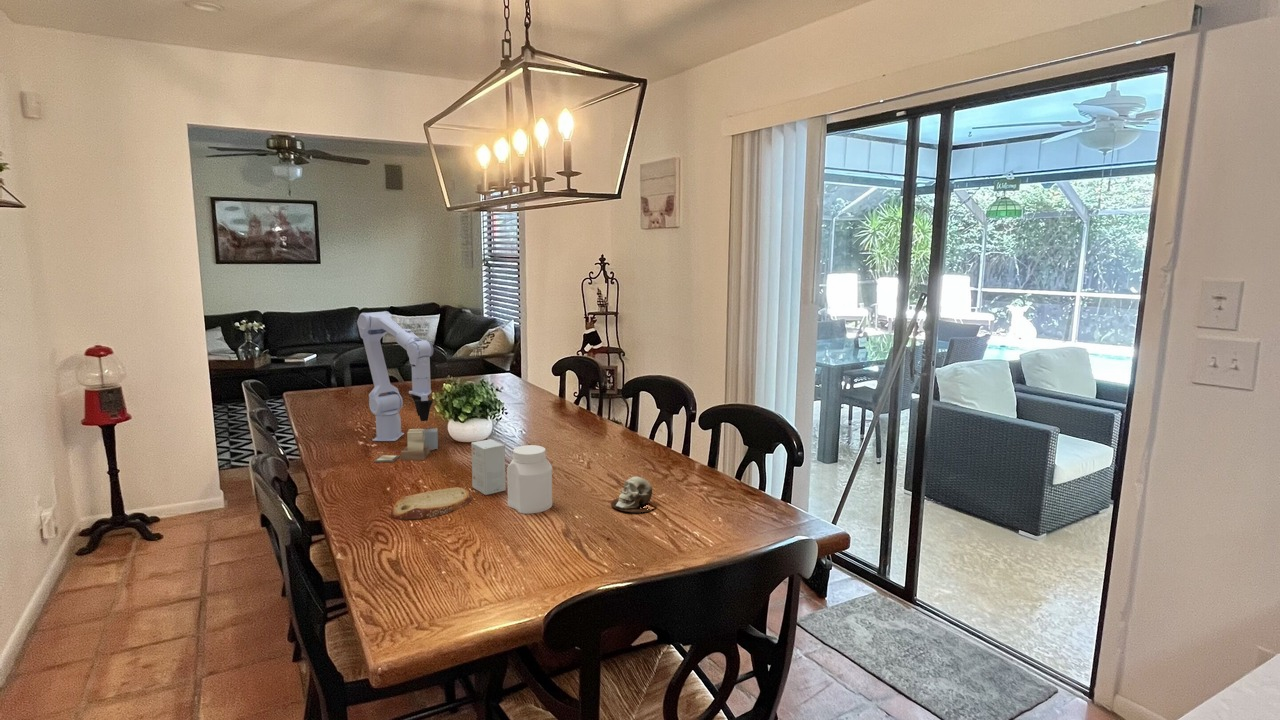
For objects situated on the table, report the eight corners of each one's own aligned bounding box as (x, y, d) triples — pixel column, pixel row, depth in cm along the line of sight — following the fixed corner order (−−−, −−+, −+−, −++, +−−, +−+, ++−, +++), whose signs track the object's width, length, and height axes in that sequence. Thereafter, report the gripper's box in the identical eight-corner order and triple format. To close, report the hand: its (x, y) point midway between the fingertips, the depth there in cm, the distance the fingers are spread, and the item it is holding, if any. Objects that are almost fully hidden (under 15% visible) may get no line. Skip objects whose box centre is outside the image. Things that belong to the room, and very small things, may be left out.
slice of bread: (473, 495, 184) (473, 481, 183) (460, 521, 166) (460, 506, 166) (406, 495, 183) (405, 482, 182) (386, 521, 165) (385, 507, 165)
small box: (506, 490, 187) (505, 444, 184) (485, 495, 183) (484, 449, 180) (492, 482, 193) (491, 438, 191) (471, 487, 189) (470, 442, 187)
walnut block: (407, 454, 219) (407, 445, 219) (429, 454, 219) (429, 445, 219) (400, 461, 212) (400, 452, 212) (423, 461, 212) (423, 452, 212)
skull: (631, 515, 168) (614, 478, 172) (614, 531, 175) (598, 496, 179) (668, 503, 175) (652, 468, 179) (651, 519, 182) (635, 485, 186)
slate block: (423, 446, 227) (423, 429, 226) (437, 445, 228) (437, 428, 227) (423, 450, 223) (422, 432, 222) (437, 449, 224) (437, 431, 223)
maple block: (410, 447, 217) (409, 429, 216) (424, 446, 218) (424, 428, 217) (407, 451, 212) (407, 432, 212) (422, 450, 213) (422, 432, 212)
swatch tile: (380, 456, 215) (380, 454, 215) (399, 456, 215) (399, 454, 215) (373, 462, 209) (373, 460, 209) (393, 462, 210) (393, 460, 209)
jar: (502, 503, 177) (501, 447, 175) (534, 495, 183) (533, 441, 181) (525, 516, 169) (524, 458, 166) (557, 507, 175) (557, 451, 172)
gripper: (405, 374, 226) (407, 414, 228) (410, 382, 213) (412, 424, 215) (428, 373, 228) (429, 412, 231) (433, 380, 215) (435, 422, 218)
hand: (422, 418), depth 223 cm, fingers open, 7 cm apart
